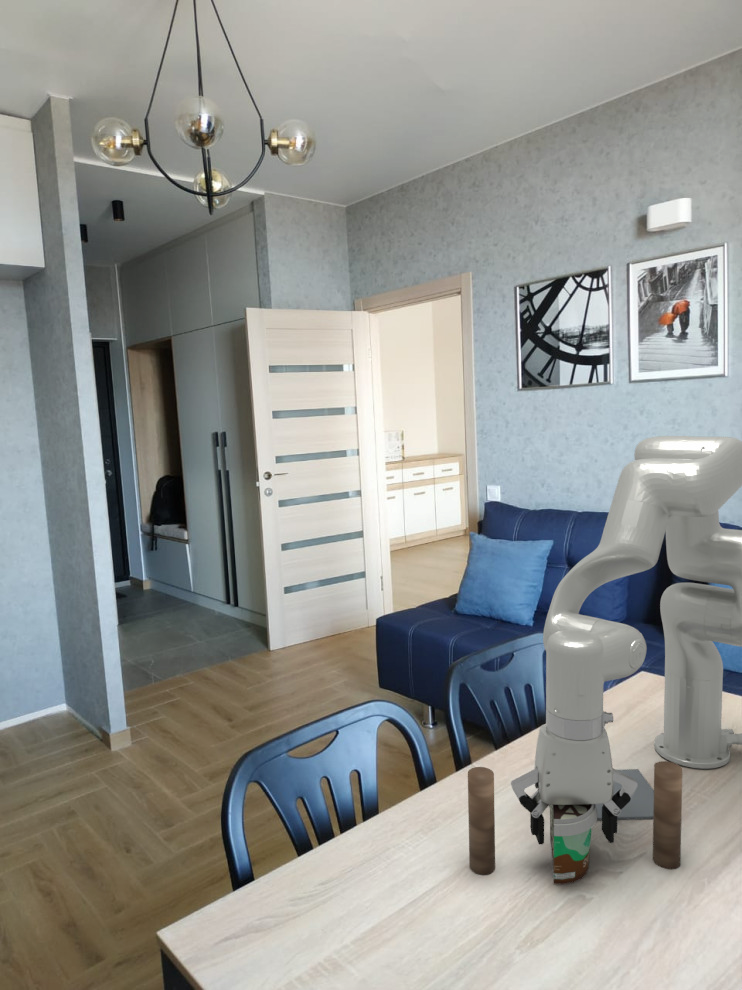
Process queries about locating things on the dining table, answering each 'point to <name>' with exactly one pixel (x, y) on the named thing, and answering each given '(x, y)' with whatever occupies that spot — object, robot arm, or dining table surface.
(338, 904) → the dining table surface
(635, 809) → the charcoal mat
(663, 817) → the walnut post
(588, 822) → the food container
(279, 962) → the dining table surface
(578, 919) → the dining table surface
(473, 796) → the walnut post
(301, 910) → the dining table surface
